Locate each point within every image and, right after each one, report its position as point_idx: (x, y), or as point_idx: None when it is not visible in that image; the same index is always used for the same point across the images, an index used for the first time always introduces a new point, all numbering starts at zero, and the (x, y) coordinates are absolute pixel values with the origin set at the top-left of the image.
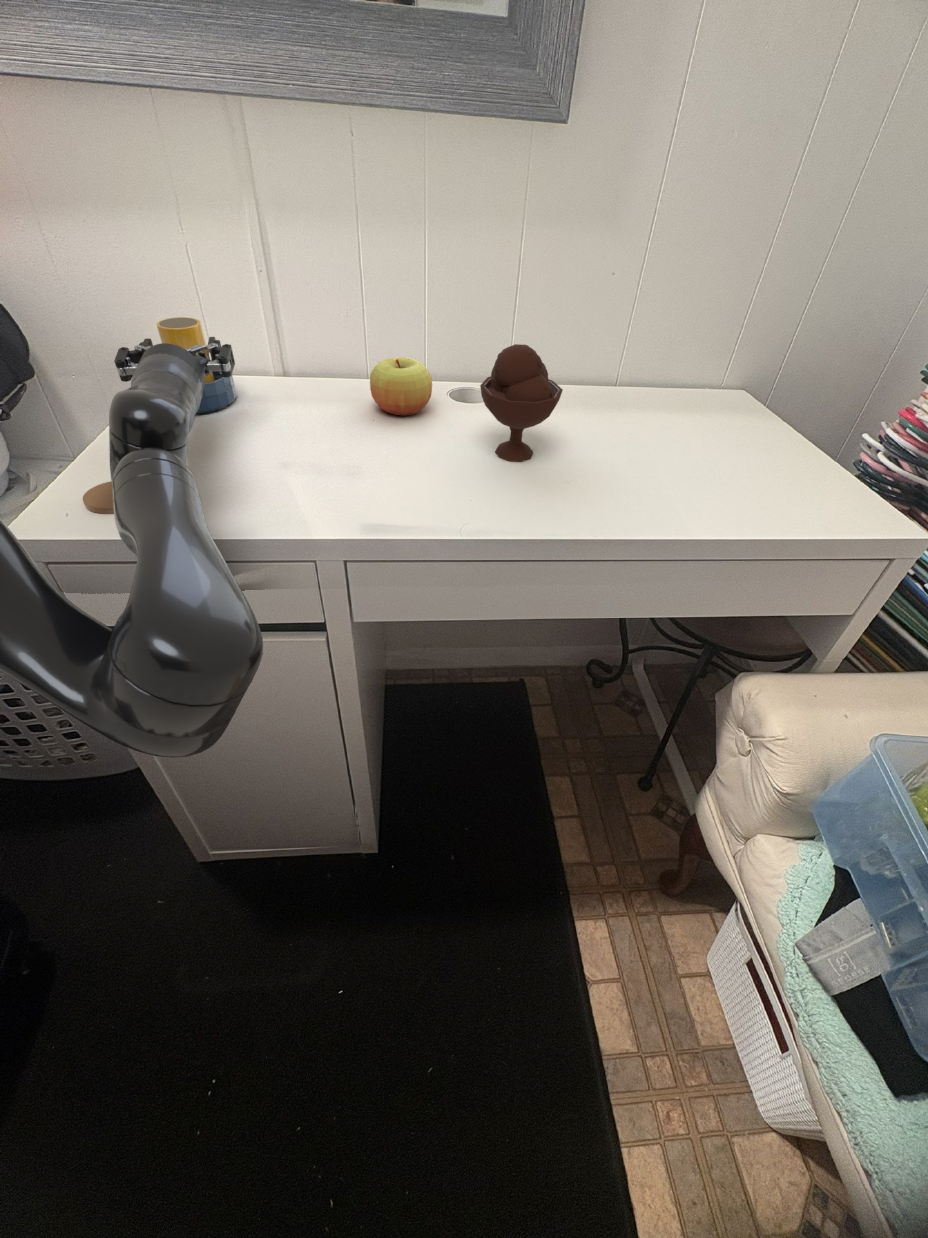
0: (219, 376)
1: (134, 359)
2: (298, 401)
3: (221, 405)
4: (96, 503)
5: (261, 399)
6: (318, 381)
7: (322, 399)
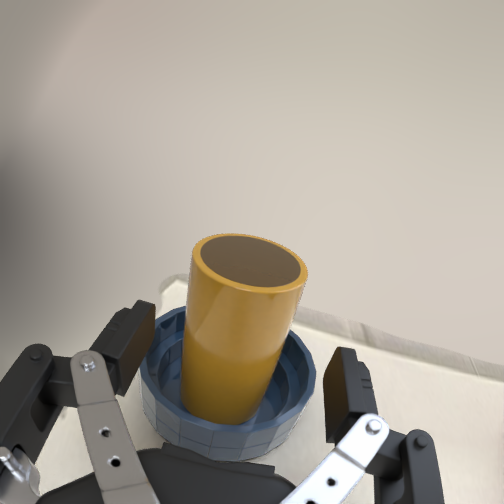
0: None
1: (62, 397)
2: None
3: (267, 451)
4: None
5: None
6: (421, 371)
7: (443, 436)
